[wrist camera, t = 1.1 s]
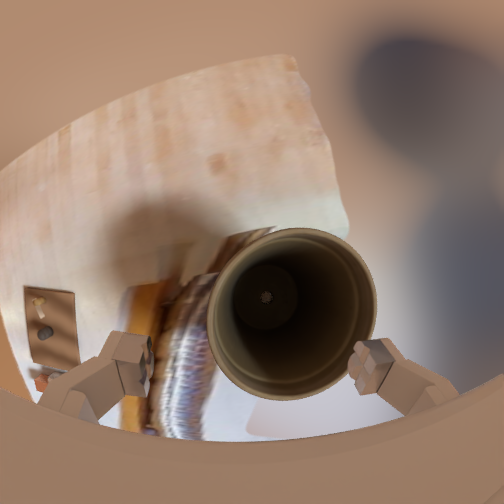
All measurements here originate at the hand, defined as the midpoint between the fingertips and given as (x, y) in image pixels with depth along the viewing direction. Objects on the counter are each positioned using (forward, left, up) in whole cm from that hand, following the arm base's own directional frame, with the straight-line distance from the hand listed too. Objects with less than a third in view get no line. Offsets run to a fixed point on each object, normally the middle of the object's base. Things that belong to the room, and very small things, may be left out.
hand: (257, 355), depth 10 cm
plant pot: (-4, -11, -45) cm, 47 cm away
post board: (-14, +37, -45) cm, 60 cm away
